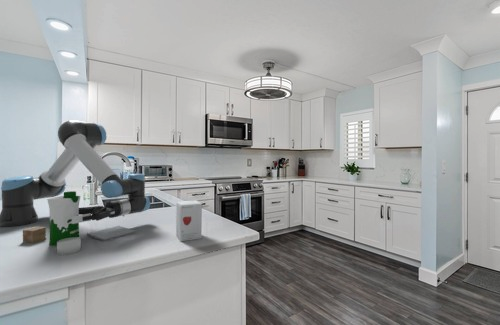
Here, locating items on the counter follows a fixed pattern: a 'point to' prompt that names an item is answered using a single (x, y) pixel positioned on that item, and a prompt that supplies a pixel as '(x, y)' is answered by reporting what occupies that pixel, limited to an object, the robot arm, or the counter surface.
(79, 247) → the white cylinder puck
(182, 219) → the supplement box
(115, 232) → the slate board
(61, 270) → the counter surface
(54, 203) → the soya milk
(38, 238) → the walnut block
